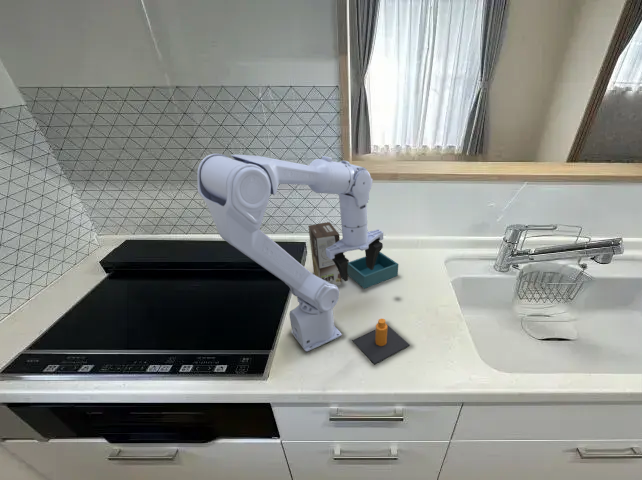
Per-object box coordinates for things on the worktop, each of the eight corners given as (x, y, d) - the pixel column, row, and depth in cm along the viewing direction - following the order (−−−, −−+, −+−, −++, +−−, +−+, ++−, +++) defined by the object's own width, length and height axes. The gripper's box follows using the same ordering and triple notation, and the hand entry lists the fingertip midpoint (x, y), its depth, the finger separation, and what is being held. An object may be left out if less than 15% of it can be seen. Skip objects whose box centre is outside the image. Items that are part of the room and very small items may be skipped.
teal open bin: (364, 290, 91) (364, 276, 88) (347, 275, 97) (346, 262, 94) (397, 277, 96) (398, 264, 94) (379, 264, 102) (379, 251, 100)
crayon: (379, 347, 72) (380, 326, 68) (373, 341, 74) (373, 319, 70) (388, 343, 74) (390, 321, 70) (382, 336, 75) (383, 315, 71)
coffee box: (342, 285, 92) (340, 234, 83) (321, 290, 91) (315, 238, 81) (333, 270, 99) (330, 221, 89) (313, 274, 97) (307, 224, 88)
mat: (374, 364, 69) (374, 363, 69) (351, 340, 75) (351, 339, 74) (409, 345, 74) (409, 344, 73) (385, 324, 79) (385, 323, 79)
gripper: (335, 239, 64) (340, 292, 73) (391, 219, 70) (390, 270, 79) (318, 226, 69) (325, 278, 77) (373, 208, 75) (373, 258, 84)
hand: (357, 273), depth 79 cm, fingers open, 7 cm apart
